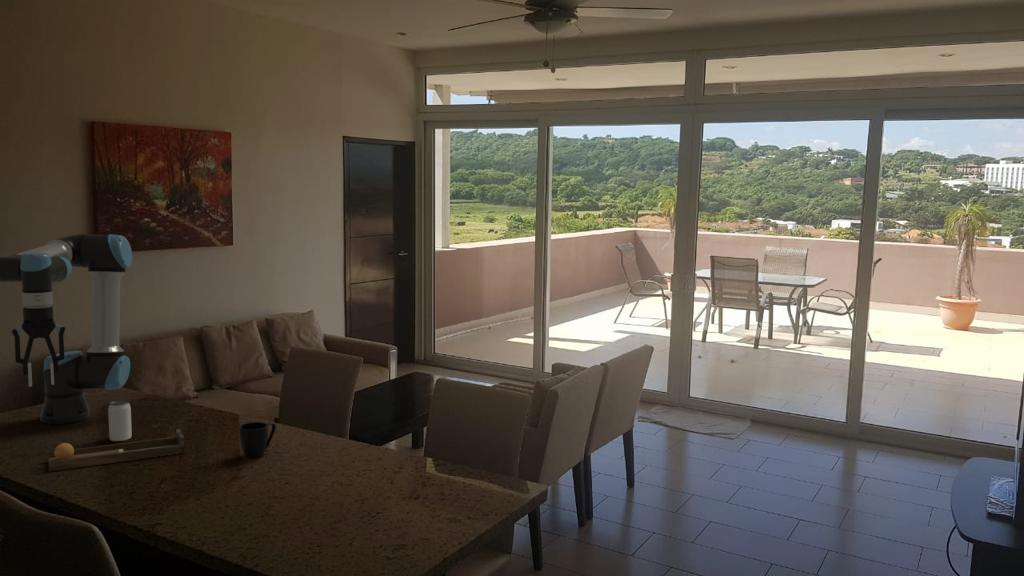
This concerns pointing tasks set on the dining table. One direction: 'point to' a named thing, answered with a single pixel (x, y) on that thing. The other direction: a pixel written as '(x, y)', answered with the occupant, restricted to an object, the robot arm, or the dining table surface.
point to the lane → (119, 452)
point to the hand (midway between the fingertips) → (41, 384)
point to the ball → (64, 451)
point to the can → (119, 421)
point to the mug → (255, 438)
